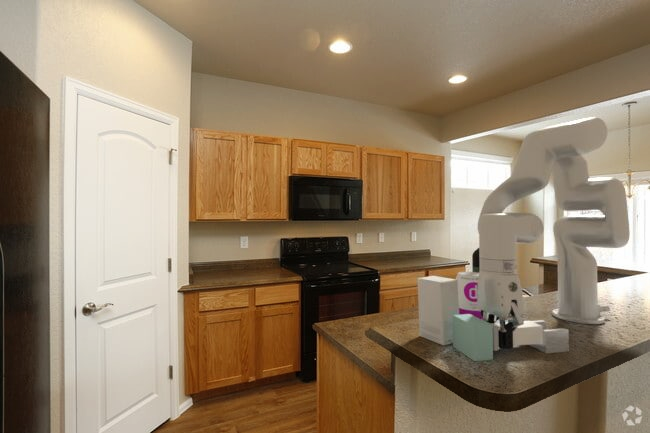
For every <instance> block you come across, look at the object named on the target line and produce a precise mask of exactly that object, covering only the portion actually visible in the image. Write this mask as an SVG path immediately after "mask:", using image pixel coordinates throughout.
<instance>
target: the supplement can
mask: <svg viewBox="0 0 650 433" xmlns="http://www.w3.org/2000/svg"><path fill="white" fill-rule="evenodd" d="M478 277H479V273H478V272H472V271H459V272H457V274H456V277H455V279H456V280H458V299H459V315H461V314H471V315H473V316H475V317H477V318H479V319H482V320H483V317H482V315H481V312H480V311H479V309H478V308H477V303H478V301H477V288H478Z"/></svg>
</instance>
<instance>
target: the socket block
mask: <svg viewBox="0 0 650 433" xmlns="http://www.w3.org/2000/svg"><path fill="white" fill-rule="evenodd" d="M452 345H453V348H455V349H456V350H458V351H459V352H460V353H462V354H463V355H465V356H466V357H468V358H469V359H470V360H472V361H473V362H480V361H481V362H482V361H492V360H493V359H494V350H493V325H492V324H490V323H488V322H486V321H484V320H482V319H479V318H477V317H475V316H473V315H471V314H461V315H453V343H452Z"/></svg>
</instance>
